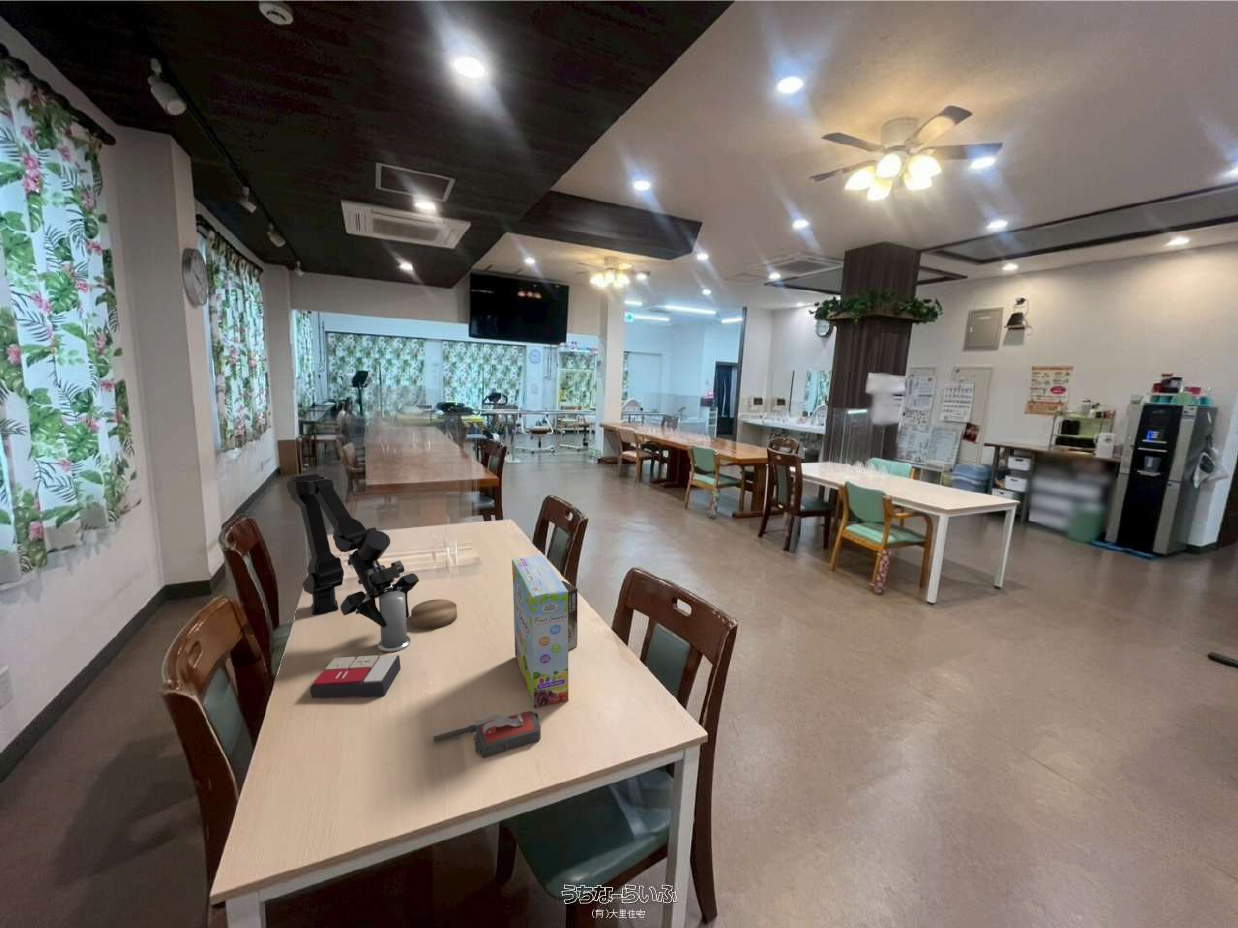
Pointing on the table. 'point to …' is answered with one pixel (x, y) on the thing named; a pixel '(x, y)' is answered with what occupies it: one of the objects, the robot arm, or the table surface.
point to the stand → (434, 614)
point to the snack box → (541, 629)
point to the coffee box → (572, 614)
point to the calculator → (357, 677)
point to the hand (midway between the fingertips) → (396, 621)
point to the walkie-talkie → (500, 733)
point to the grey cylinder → (393, 622)
